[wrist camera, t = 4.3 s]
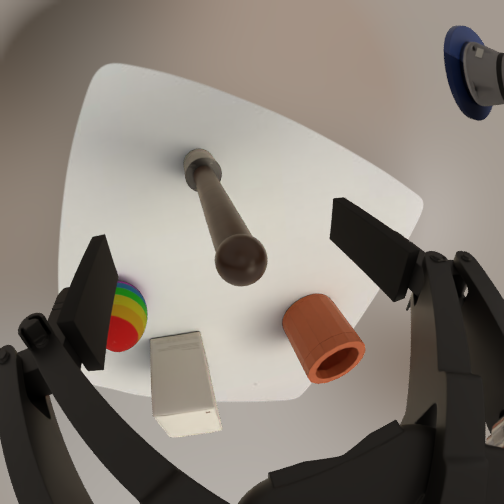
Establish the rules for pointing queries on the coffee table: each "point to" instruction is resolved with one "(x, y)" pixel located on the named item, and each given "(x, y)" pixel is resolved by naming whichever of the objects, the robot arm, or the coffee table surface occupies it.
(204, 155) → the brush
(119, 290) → the decorative egg
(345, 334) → the jar
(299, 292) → the coffee table surface
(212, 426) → the rectangular carton
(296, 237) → the coffee table surface
